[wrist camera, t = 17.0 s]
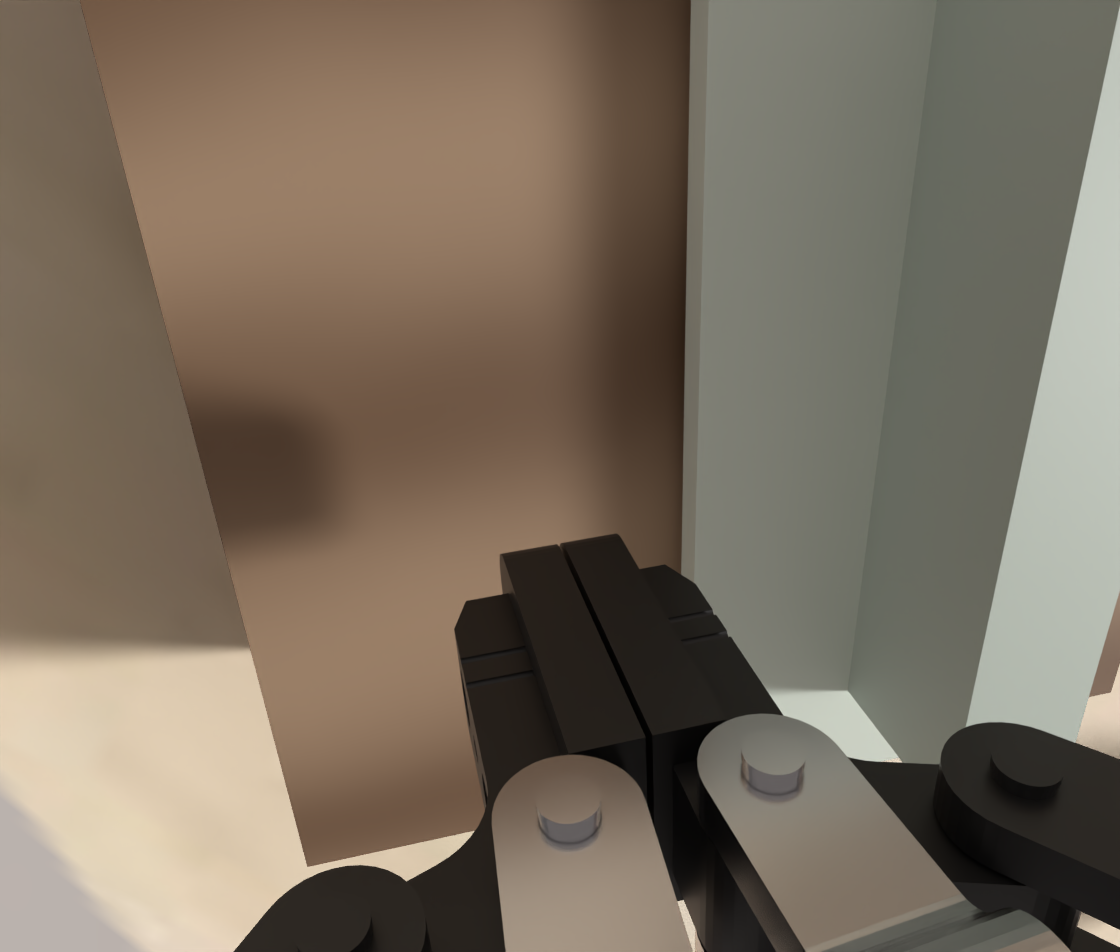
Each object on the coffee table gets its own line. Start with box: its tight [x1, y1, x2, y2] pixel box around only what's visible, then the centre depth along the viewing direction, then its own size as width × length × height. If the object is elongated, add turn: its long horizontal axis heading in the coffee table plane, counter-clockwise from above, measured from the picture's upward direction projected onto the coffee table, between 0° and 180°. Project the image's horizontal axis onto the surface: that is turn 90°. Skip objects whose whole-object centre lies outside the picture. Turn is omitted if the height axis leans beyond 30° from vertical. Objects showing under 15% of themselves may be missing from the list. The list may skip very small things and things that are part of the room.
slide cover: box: [681, 0, 1120, 764], centre depth 13 cm, size 16×8×4 cm, turn 2°
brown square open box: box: [80, 0, 1120, 867], centre depth 17 cm, size 17×17×6 cm
